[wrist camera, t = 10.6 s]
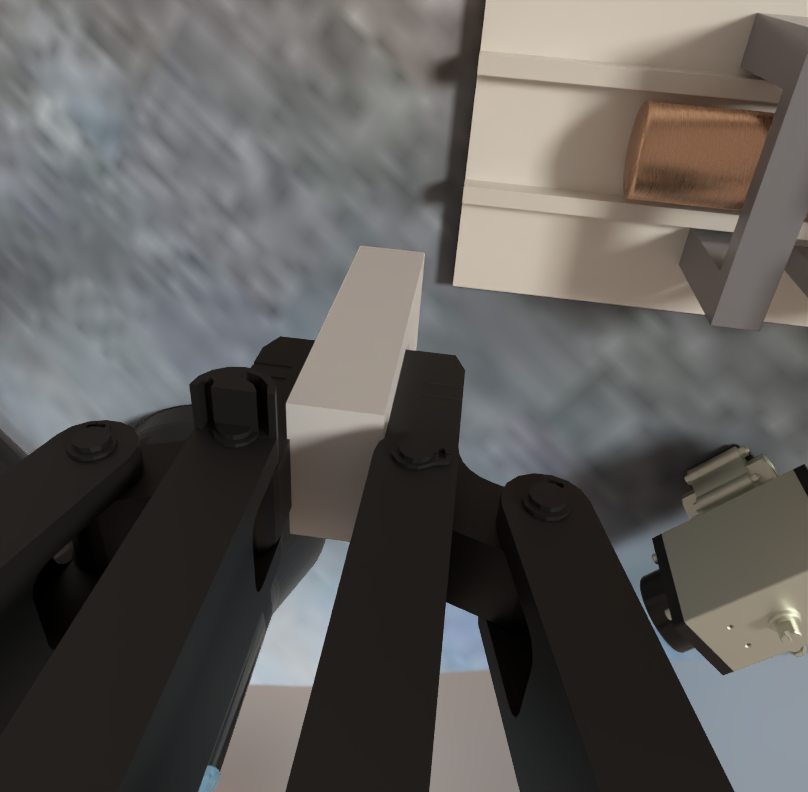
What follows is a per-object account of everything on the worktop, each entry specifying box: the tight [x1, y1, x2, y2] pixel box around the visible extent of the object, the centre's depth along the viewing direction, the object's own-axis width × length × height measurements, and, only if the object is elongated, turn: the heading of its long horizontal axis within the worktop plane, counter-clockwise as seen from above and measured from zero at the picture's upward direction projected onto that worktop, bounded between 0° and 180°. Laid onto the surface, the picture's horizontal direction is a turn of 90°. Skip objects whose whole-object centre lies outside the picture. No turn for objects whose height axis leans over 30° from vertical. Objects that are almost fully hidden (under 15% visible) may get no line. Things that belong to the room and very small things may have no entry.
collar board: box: [453, 0, 808, 331], centre depth 27 cm, size 26×16×11 cm, turn 86°
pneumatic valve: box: [640, 446, 808, 675], centre depth 37 cm, size 6×12×12 cm, turn 134°
